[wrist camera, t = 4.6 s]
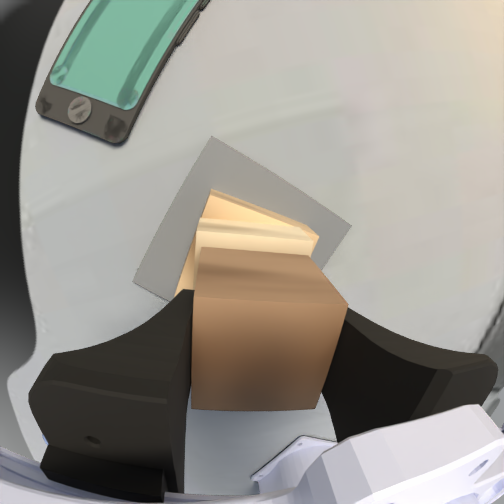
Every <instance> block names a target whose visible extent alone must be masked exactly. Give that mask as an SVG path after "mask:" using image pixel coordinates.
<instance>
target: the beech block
mask: <svg viewBox="0 0 504 504" xmlns="http://www.w3.org/2000/svg"><path fill="white" fill-rule="evenodd" d="M313 242H314V241H313V240H312V239H311V238H310V237H309V236H308V235H307V234H306V233H305V232H304V231H303V230H302V229H301V228H300V227H293V226H283V225H274V224H263V223H253V222H242V221H231V220H220V219H208V218H200V220H199V223H198V227H197V231H196V245H195V261H194V278H193V290H195V285H196V278H197V272H198V265H199V259H200V253H201V247H213V248H226V249H238V250H250V251H262V252H274V253H286V254H298V255H308V256H309V257H310V258H311V253H312V247H313Z"/></svg>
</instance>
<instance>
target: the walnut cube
mask: <svg viewBox="0 0 504 504" xmlns="http://www.w3.org/2000/svg"><path fill="white" fill-rule="evenodd" d="M347 308H348V303H347V302H346V301H345V299H344V298H343V297H342V296H341V295H340V293H339V292H338V291H337V290H336V288H335V287H334V286H333V285H332V283H331V282H330V281H329V280H328V279H327V277H326V276H325V275H324V274H323V272H322V271H321V270H320V269H319V268H318V266H317V265H316V264H315V263H314V262H313V260H312V259H311V258H310V257H309V256H308V255H298V254H286V253H274V252H262V251H250V250H238V249H226V248H213V247H201V253H200V259H199V265H198V272H197V278H196V285H195V291H194V302H193V328H192V372H191V409H200V410H219V411H287V410H306V409H315V408H316V405H317V402H318V399H319V397H320V394H321V391H322V388H323V385H324V383H325V380H326V377H327V374H328V371H329V368H330V365H331V362H332V358H333V355H334V352H335V349H336V346H337V343H338V339H339V336H340V333H341V329H342V326H343V322H344V319H345V315H346V312H347Z"/></svg>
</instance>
